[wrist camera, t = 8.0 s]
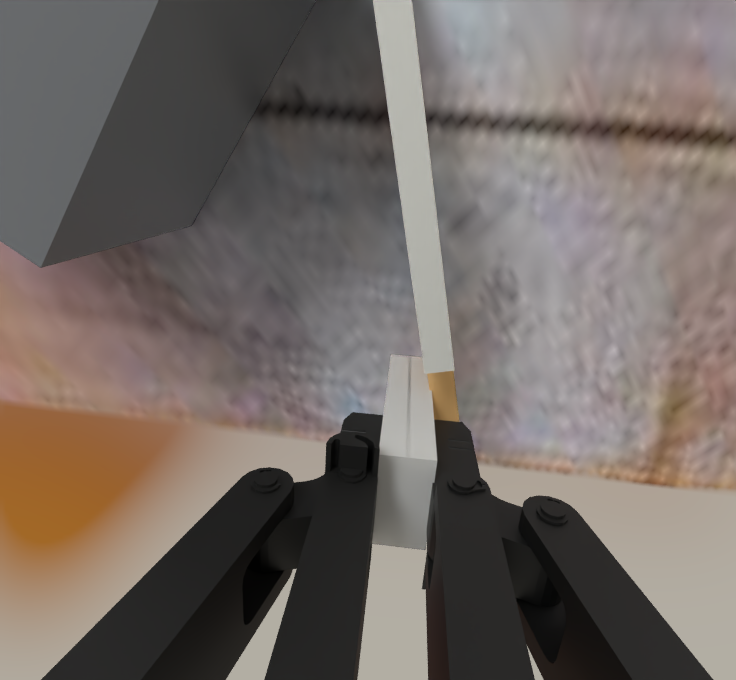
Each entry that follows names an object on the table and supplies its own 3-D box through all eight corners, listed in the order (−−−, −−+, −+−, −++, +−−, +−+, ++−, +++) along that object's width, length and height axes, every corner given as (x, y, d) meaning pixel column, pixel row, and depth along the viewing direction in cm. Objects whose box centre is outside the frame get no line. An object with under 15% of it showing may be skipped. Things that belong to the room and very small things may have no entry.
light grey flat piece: (367, -82, 15) (331, -257, 9) (400, -90, 15) (386, -275, 8) (432, 398, 20) (438, 502, 14) (456, 395, 20) (473, 499, 14)
